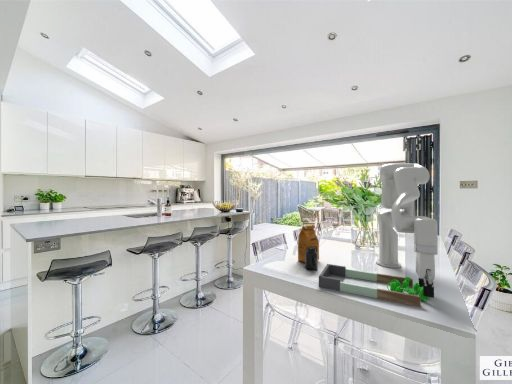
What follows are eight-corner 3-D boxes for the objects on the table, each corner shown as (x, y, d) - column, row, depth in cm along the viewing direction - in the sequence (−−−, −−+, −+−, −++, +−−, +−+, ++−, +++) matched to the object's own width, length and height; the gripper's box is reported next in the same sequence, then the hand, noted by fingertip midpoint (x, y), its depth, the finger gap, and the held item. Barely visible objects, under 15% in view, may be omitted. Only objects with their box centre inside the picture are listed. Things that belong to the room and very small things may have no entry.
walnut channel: (377, 280, 106) (377, 273, 106) (412, 286, 100) (412, 278, 100) (377, 298, 88) (377, 289, 89) (420, 306, 82) (420, 297, 82)
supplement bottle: (315, 266, 127) (315, 245, 127) (319, 270, 120) (319, 248, 120) (303, 266, 127) (303, 245, 127) (306, 270, 120) (306, 248, 120)
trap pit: (327, 272, 117) (327, 263, 117) (345, 275, 113) (345, 266, 113) (318, 286, 99) (318, 276, 99) (339, 290, 95) (339, 280, 95)
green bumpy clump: (425, 290, 96) (425, 274, 96) (437, 307, 82) (437, 288, 82) (385, 285, 102) (385, 269, 102) (390, 299, 88) (390, 281, 88)
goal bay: (345, 275, 113) (345, 268, 113) (377, 280, 106) (377, 273, 106) (339, 290, 95) (339, 282, 95) (377, 298, 88) (377, 289, 89)
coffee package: (321, 261, 137) (321, 225, 137) (307, 265, 129) (307, 227, 130) (309, 257, 145) (309, 223, 145) (295, 260, 138) (295, 225, 138)
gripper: (410, 243, 99) (411, 282, 98) (418, 252, 83) (418, 298, 83) (432, 245, 95) (432, 285, 95) (443, 255, 80) (444, 303, 80)
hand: (425, 291), depth 89 cm, fingers open, 9 cm apart
